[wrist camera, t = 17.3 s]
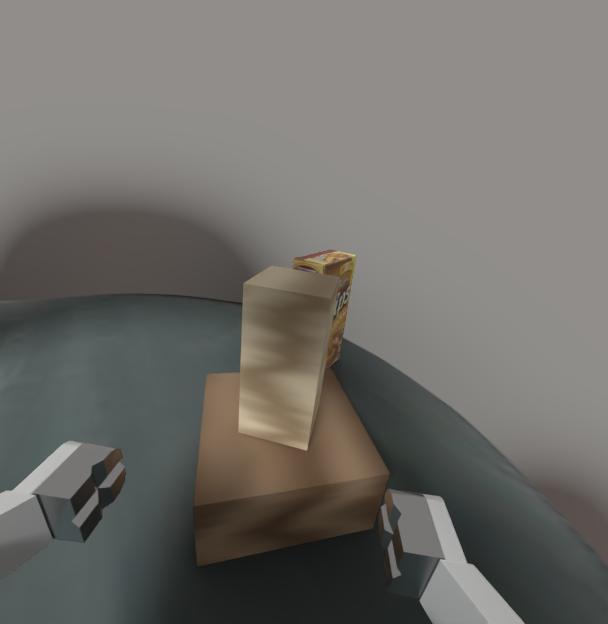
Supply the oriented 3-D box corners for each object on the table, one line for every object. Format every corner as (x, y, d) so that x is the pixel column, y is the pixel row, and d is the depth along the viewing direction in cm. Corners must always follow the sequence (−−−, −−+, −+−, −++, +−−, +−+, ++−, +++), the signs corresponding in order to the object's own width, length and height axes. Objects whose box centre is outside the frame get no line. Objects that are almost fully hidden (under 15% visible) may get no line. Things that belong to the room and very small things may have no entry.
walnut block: (197, 569, 18) (193, 506, 15) (208, 424, 28) (206, 374, 26) (372, 531, 21) (390, 473, 18) (322, 413, 31) (330, 367, 29)
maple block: (238, 432, 20) (243, 283, 16) (262, 390, 25) (271, 265, 21) (307, 450, 19) (330, 298, 15) (319, 403, 24) (339, 276, 20)
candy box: (309, 389, 35) (327, 265, 29) (281, 375, 36) (292, 256, 30) (340, 358, 42) (359, 254, 36) (314, 348, 44) (329, 248, 38)
